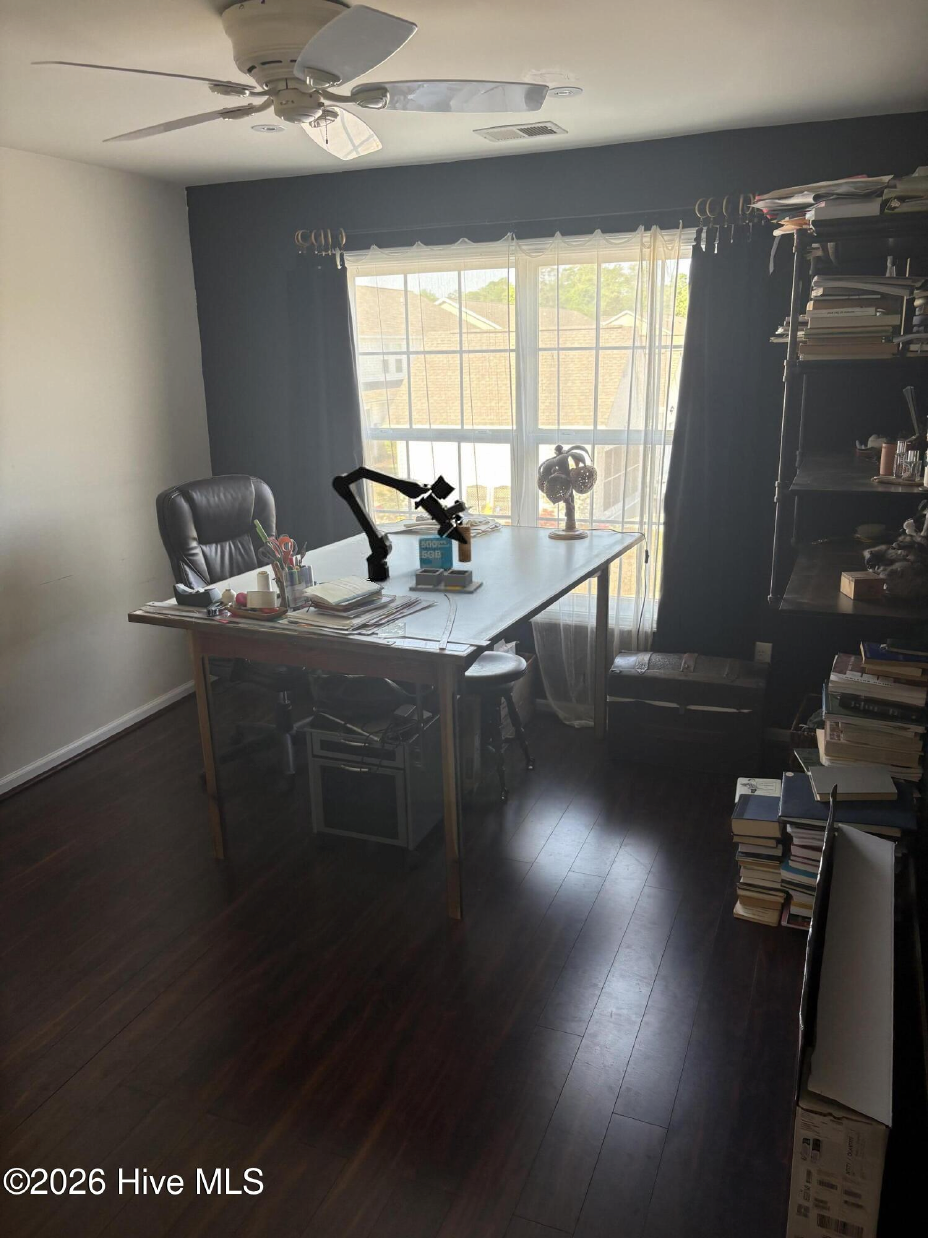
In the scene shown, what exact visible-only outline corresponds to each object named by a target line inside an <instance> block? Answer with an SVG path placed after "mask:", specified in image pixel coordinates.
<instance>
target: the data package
mask: <svg viewBox="0 0 928 1238" xmlns="http://www.w3.org/2000/svg"><path fill="white" fill-rule="evenodd" d="M446 535H447V534H445V535H444V536H443V537H442V538H441V537H440V536H439V535H438V534H437V535H434V534H433V535H421V536H419V538H418V556H419V557H418V558H419V559H418V560H419V568H420V570H421V569H423V568H428V569H450V570H452V569H453V567H454V553H453V552H454V550H453V540H452V539H450V538H447V537H445V536H446Z"/></svg>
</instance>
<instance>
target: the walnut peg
mask: <svg viewBox="0 0 928 1238" xmlns="http://www.w3.org/2000/svg"><path fill="white" fill-rule="evenodd" d="M471 528H472V527H471V525H468V524H466V525H465V524H463V525H460V526H459V531H460V532H461V533H462V535H463V536H464V537H465V539H466V540H467V541H468V543H467V544H466V545H465V544H463V543H460V542H458V541H457V553H458V557H457V559H458V561H457V562H459V563H463V564H464V563H466V564H467V563H471V562H472V539H471V538H472V534H471V533H472V531H471V530H472V529H471Z"/></svg>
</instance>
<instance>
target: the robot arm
mask: <svg viewBox="0 0 928 1238" xmlns="http://www.w3.org/2000/svg"><path fill="white" fill-rule="evenodd" d="M362 479H365V480H369V481H371V482H374V483H376V484H380V485H382V486H385V487H388V488H392V489H394V490H396V491H397V492H399V493H401V495H404V496H406V497H407V498H409V499H411V500H415V501H414V502H413V503H414V510H415V511H416V510H418V509H419V508H421V509H422V510H424V511H425V512H426V513H427V515H429V517H431V518H430V520H431V521H435V523H437V525H439V528H438V529H437V530H436V531H437V532H436V533H437V535H439V536H440V537H441V538H442V537H443V536H444V535H446V536H445V537H447V538H450V539H452V541H456V542H457V543H458V542H460V543H463V544H465V545H466V544H467V543H468V541H467V540H466V539H465V537H464V536H463V535H462V533H461V532H460V531H459V526H460V525H464V519H463V518H464V517H465V515H464V514H463V513H464V512H465V511H466V510H467V509H468V508H467V506H466V502H465V501H464V500H461V499H460V498H458V499H456V500H454V502H453V503H454V504H452V505H450V506H448V505H447V504H442V502H441V501H442V500H443V501H445V500H446V499H447V498H448V497H450V496H451V494H452V493H453V492H454V491H456V489H457V486H456V485H455V484H454V482H453V481H452V480H451V479H449V478H448V477H446V476H445V475H443V474H440V475H439V476H438V478H437V479H436V480H435V481H434V482H433V483H432V484H431V483H430V484H429V483H425V482H423V481H422V480H420V479H415V478H407V477H406V478H405V477H401V476H400V477H399V476H397V475H394V474H390V473H387V472H386V471H382V470H379V469H376V468H373V467H370V466H368V465H366V464H363V465H361V466H359V467H358V468H356V469H355V470H352V471H351V472H349V473H346V472H345V473H341V474H338V475H336V476H335V477H334V478H333V479H332V482H331V487H332V489H333V490H334V492H335V493H337V495H338V496H339V497H340V498H341V499H342V500H343V501H345V502H346V504H347V505H348V506H349V509H350V510H351V512H352V514H353V515H354V518H355V519H356V520H357V522H358V524H359V526H360V527H361V529H362V531H363V532H364V534H365V536H366V537H367V538H366V539H367V541H368V546H369V549H370V551H371V553H370V554H369V555H368V556H367V557H366V558H365V561H366V563H367V576H368V577H367V578H366V579H370V580H374V581H373V582H385V581H386V580H388V579H389V578H390V577H391V576H390V566H389V565H388V561H386V560H388V556H390V555H391V553H392V551H393V545H392V544H393V541H392V540H391V539H390V538H389V535H388V534H387V532H385V533H384V534H383V533H382V532H380V530H379V529H378V528H377V526H376V524H375V523H374V521H373V519H372V517H371V516H370V514H369V512H368V510H367V509H366V507H365V504H363V502H362V500H361V498H360V497H359V495H358V492H357V491H358V490H357V486H356V482H358V481H360V480H362ZM430 491H431V492H430ZM429 492H430V493H429ZM428 493H429V494H428ZM426 494H427V495H426ZM420 497H421V498H420ZM419 498H420V499H419ZM417 499H419V500H417Z"/></svg>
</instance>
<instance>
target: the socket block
mask: <svg viewBox="0 0 928 1238" xmlns="http://www.w3.org/2000/svg"><path fill="white" fill-rule="evenodd" d="M414 575H415V579H414V580H415V582H414V583H413V584H412V585H410V586H408V589H409V590H408V591H415V590H420V591H419V592H435V593H436V592H438V593H453V594H454V593H455V594H458V593H459V594H472V595H473V594H474V593H475V592H476V591H477V590H478V589H480V587H481V585H482V586H483V585H484V582H483V581H480V580H479V581H475V580H473V578H474V577H473V570H471V569H465V570H464V569H450V570H448V571H447V572H445V570H444V569H428V568H423V569H421V568H420V569H419V570H418V571H416V572H415V573H414Z"/></svg>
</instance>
